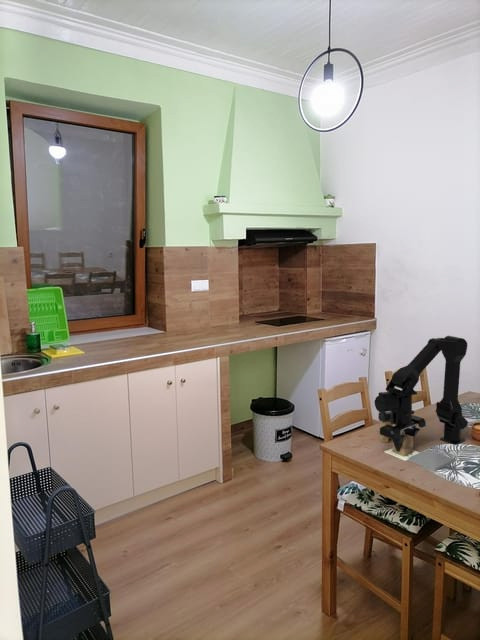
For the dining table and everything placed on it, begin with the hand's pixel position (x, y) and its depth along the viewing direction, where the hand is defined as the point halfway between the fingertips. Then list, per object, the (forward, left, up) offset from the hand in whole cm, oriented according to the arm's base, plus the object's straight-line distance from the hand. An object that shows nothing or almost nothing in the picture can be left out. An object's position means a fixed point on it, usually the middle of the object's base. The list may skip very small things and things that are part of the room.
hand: (402, 449), depth 164 cm
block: (0, 0, -1) cm, 1 cm away
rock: (-6, -13, -2) cm, 14 cm away
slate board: (-2, +10, -1) cm, 10 cm away
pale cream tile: (0, 0, -1) cm, 1 cm away
